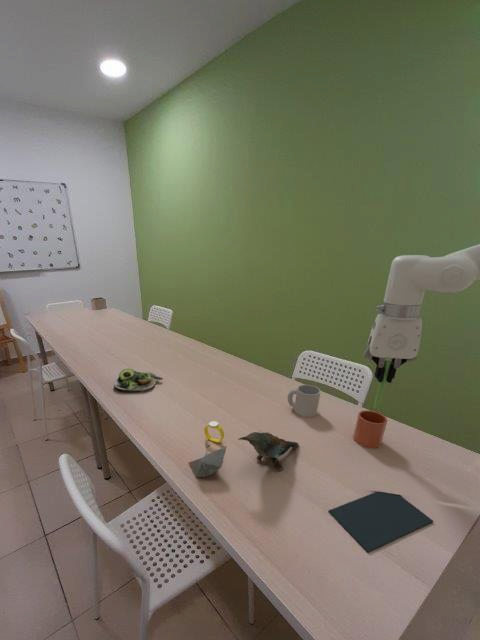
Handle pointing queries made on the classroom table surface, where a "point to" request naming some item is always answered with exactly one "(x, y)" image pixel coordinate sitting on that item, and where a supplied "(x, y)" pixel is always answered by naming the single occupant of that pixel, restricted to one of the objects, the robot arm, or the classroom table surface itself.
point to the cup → (305, 400)
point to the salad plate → (135, 381)
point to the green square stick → (382, 385)
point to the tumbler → (369, 429)
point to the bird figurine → (269, 446)
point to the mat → (379, 519)
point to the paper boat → (208, 463)
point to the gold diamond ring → (214, 425)
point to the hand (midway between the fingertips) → (383, 379)
